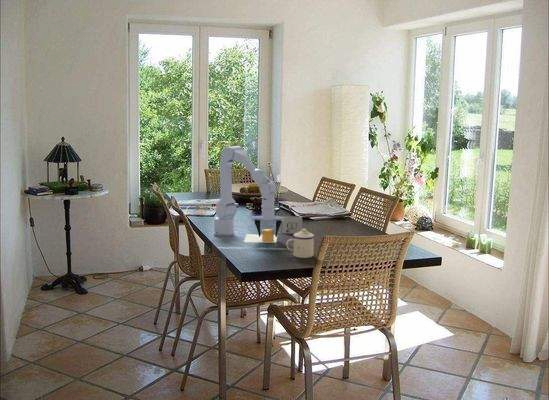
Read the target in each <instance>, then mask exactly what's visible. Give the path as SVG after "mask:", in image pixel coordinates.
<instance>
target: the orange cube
mask: <svg viewBox="0 0 549 400" xmlns="http://www.w3.org/2000/svg"><path fill="white" fill-rule="evenodd" d="M261 232H262V233H261V235H262V241H264V242H272V241H274V235H275V234H274V233H275V231H274V229H272V228H264V229H262V231H261Z"/></svg>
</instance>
